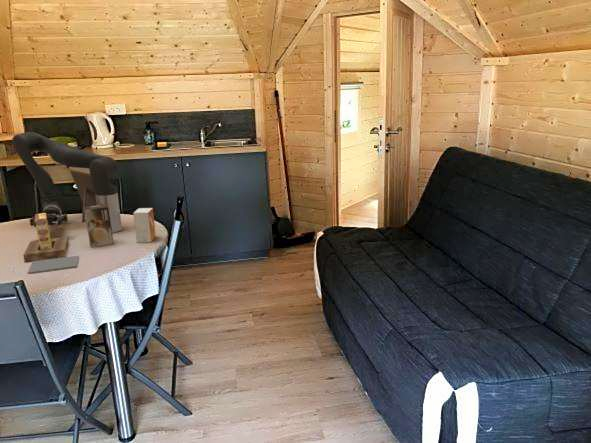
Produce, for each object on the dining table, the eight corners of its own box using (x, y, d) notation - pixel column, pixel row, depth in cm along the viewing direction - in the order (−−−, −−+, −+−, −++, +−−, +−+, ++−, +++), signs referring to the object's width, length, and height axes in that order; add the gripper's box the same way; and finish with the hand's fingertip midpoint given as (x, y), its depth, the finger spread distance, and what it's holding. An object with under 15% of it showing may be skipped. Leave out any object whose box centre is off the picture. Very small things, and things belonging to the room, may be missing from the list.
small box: (151, 242, 201) (148, 212, 197) (136, 242, 201) (132, 212, 197) (156, 236, 209) (153, 207, 205) (141, 237, 209) (138, 208, 205)
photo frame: (95, 211, 254) (87, 164, 247) (116, 217, 241) (109, 168, 233) (67, 217, 244) (58, 168, 237) (87, 224, 230) (79, 173, 223)
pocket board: (68, 243, 202) (67, 236, 201) (65, 257, 185) (64, 249, 185) (31, 248, 197) (30, 241, 196) (24, 262, 181) (23, 254, 180)
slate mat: (78, 256, 185) (78, 255, 185) (77, 267, 175) (76, 265, 174) (32, 262, 180) (32, 261, 180) (27, 274, 169) (27, 272, 169)
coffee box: (112, 240, 205) (107, 203, 201) (114, 244, 200) (109, 206, 196) (89, 243, 201) (83, 206, 197) (90, 247, 196) (84, 209, 191)
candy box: (53, 255, 188) (47, 217, 184) (41, 256, 186) (34, 219, 182) (52, 248, 196) (46, 212, 192) (41, 250, 194) (34, 213, 190)
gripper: (32, 208, 210) (26, 216, 195) (67, 204, 215) (64, 213, 200) (35, 224, 212) (29, 234, 198) (70, 220, 217) (67, 230, 202)
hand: (47, 223), depth 199 cm, fingers open, 8 cm apart
